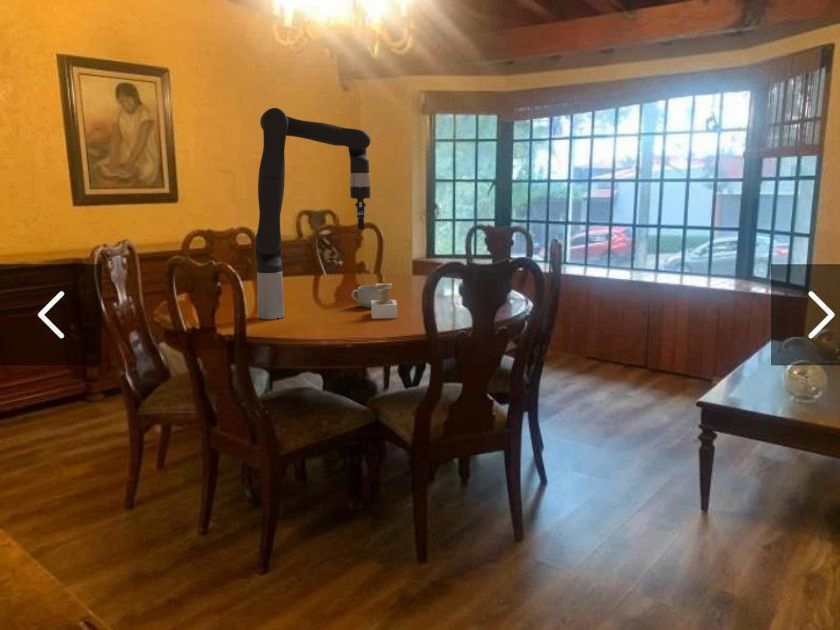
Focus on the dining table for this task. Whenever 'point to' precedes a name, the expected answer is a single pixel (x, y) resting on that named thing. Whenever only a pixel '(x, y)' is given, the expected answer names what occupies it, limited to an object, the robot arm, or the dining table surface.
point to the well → (383, 309)
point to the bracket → (383, 292)
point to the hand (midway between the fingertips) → (361, 228)
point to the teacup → (366, 295)
